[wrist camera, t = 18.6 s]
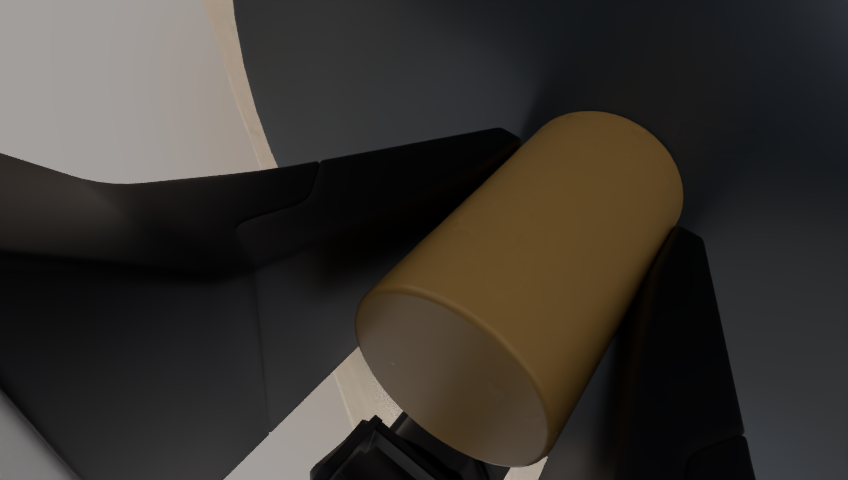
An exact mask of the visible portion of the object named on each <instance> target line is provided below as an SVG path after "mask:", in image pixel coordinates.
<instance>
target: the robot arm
mask: <svg viewBox="0 0 848 480" xmlns="http://www.w3.org/2000/svg"><path fill="white" fill-rule="evenodd" d="M520 147H521V139H520V138H519V137H518V136H516V135H514V134H513V133H511V132H509V131H507V130H505V129H503V128H501V127H498V128H492V129H486V130H481V131H476V132H470V133H465V134H459V135H454V136H449V137H443V138H438V139H433V140H427V141H422V142H417V143H411V144H406V145H400V146H395V147H390V148H384V149H379V150H374V151H368V152H363V153H358V154H352V155H347V156H341V157H336V158H331V159H325V160H322V161H321V162H320V164H319V162H318V161H314V162H308V163H303V164H298V165H292V166H286V167H280V168H273V169H267V170H261V171H253V172H244V173H236V174H228V175H218V176H208V177H198V178H188V179H178V180H168V181H159V182H148V183H135V184H111V183H102V182H96V181H91V180H85V179H81V178H78V177H74V176H71V175H68V174H65V173H61V172H58V171H55V170H52V169H49V168H45V167H43V166H39V165H36V164H33V163H30V162H27V161H24V160H20V159H17V158H14V157H11V156H8V155H5V154H1V153H0V480H223V479H224V478H225V477H226V476H227V475H229V474H230V473H231V471H232V470H234V469H235V468H236V467H237V465H239V464H240V463H241V462H242V461H243V460H244V459H245V458H246V457H247V456H248V455H249V454H250V452H252V451H253V450H254V449H255V448H256V447H257V446H258V445H259V444H260V443H261V442H262V441H263V440H264V439H265V438H266V437H267V436H268V435H269V432H272V431H273V430H274V429H275V428H276V427H277V426H278V425H279V424H280V423H281V422H282V421H283V420H284V419H285V418H286V417H287V416H288V415H289V414H290V413H291V412H292V411H293V410H294V409H295V408H296V407H297V406H298V405H299V404H300V403H301V402H302V401H303V400H304V399H305V398H306V397H307V396H308V395H309V394H310V393H311V392H312V391H313V390H314V389H315V388H316V387H317V386H318V385H319V384H320V383H321V382H322V381H323V380H324V379H325V378H326V377H327V376H328V375H330V373H331V372H333V371H334V370H335V369H336V368H337V367H338V366H339V365H340V364H341V363H342V362H343V361H344V360H345V359H346V358H347V357H348V356H349V355H350V354H351V353H352V352H353V351H354V350H355V349H356V348H357V347H358V346H359V344H358V341H357V337H356V332H355V315H356V311H357V308H358V305H359V303H360V301H361V299H362V298H363V296H364V295H365V294H366V293H367V292H368V291H369V290H370V289H372V288H373V287H374V286H375V285H376V284H377V283H378V282H379V281H380V280H381V279H382V278H383V277H384V276H385V275H386V274H387V273H388V272H389V271H391V270H392V269H393V268H394V267H395V266H396V265H397V264H398V263H399V262H400V261H401V260H402V259H403V258H404V257H405V256H406V255H407V254H408V253H410V252H411V251H412V250H413V249H414V248H415V247H416V246H417V245H418V244H419V243H420V242H421V241H422V240H423V239H424V238H425V237H426V236H428V235H429V234H430V233H431V232H432V231H433V230H434V229H435V228H436V227H437V226H438V225H439V224H440V223H441V222H442V221H443V220H444V219H445V218H447V217H448V216H449V215H450V214H451V213H452V212H453V211H454V210H455V209H456V208H457V207H458V206H459V205H460V204H461V203H462V202H463V201H464V200H466V199H467V198H468V197H469V196H470V195H471V194H472V193H473V192H474V191H475V190H476V189H477V188H478V187H479V186H480V185H481V184H482V183H483V182H485V181H486V180H487V179H488V178H489V177H490V176H491V175H492V174H493V173H494V172H495V171H496V170H497V169H498V168H499V167H500V166H501V165H502V164H504V163H505V162H506V161H507V160H508V159H509V158H510V157H511V156H512V155H513V154H514V153H515V152H516V151H517V150H518V149H519V148H520ZM744 433H745V430H744V425H743V420H742V416H741V411H740V407H739V402H738V397H737V393H736V388H735V383H734V379H733V374H732V369H731V365H730V360H729V355H728V351H727V346H726V342H725V337H724V332H723V328H722V323H721V318H720V314H719V309H718V304H717V300H716V295H715V290H714V286H713V281H712V277H711V272H710V267H709V263H708V258H707V253H706V249H705V244H704V241H703V239H702V238H701V237H700V236H698V235H696V234H694V233H692V232H691V231H689V230H687V229H685V228H683V227H681V226H675V227H674V228H673V229H672V230H671V232H670V234H669V236H668V238H667V239H666V241H665V243H664V245H663V247H662V248H661V250H660V252H659V254H658V256H657V258H656V259H655V261H654V263H653V265H652V267H651V268H650V270H649V272H648V274H647V276H646V277H645V279H644V281H643V283H642V285H641V287H640V289H639V291H638V293H637V295H636V297H635V299H634V301H633V303H632V305H631V307H630V309H629V311H628V313H627V315H626V316H625V318H624V320H623V322H622V324H621V326H620V327H619V329H618V331H617V333H616V335H615V336H614V338H613V340H612V342H611V344H610V346H609V347H608V349H607V351H606V353H605V355H604V356H603V358H602V360H601V362H600V364H599V366H598V367H597V369H596V371H595V373H594V375H593V376H592V378H591V380H590V382H589V384H588V386H587V387H586V389H585V391H584V393H583V395H582V396H581V398H580V400H579V402H578V404H577V406H576V407H575V409H574V411H573V413H572V415H571V416H570V418H569V420H568V422H567V424H566V426H565V427H564V429H563V431H562V433H561V435H560V437H559V438H558V440H557V442H556V444H555V446H554V447H553V449H552V450H551V452H550V454H549V456H548V458H547V461H546V463H545V465H544V468H543V470H542V472H541V475H540V477H539V479H538V480H756V478H755V474H754V470H753V466H752V461H751V456H750V452H749V447H748V442H747V439H746V437H744V436H742V435H744ZM510 468H511V467H504V466H498V465H494V464H489V463H486V462H483V461H480V460H477V459H475V458H472V457H470V456H468V455H465V454H464V453H462V452H460V451H458V450H456V449H454V448H452V447H450V446H449V445H447V444H445V443H444V442H442V441H441V440H439V439H438V438H436V437H435V436H433V435H432V434H430V433H429V432H428V431H426V430H425V429H424V428H422V427H421V426H420V425H419V424H418V423H416V422H415V421H414V420H413V419H412V418H411V417H410V416H408V415H407V414H406V413H405V412H404V411H403V412H402V413H401V414H400V416H399V417H398V418H397V419H396V421H395V422H394V423H393V424H392V426H391V427H390V428H389V427H388V426H386V425H385V424H384V423H383V422H382V419H380V418H379V417H378V416H377V415H375V416H374V417H373V418H372V419H371V420H370V421H366V420H362V421H361V422H360V423H359V424H358V425H357V427H356V428H355V429H354V430H353V431H352V432H351V434H350V435H349V436H348V437H347V438H346V439H345V440H344V441H343V442H342V443H341V444H340V445H338V446H337V447H336V448H335V449H334V450H332V451H331V452H330V453H329V454H328V455H327V456H325V457H324V458H323V459H322V460H320V461H319V462H318V463H317V464H316V465H315V466H314V467H313V468H312V470H311V471H310V480H503V479H504V478H505V476H506V474H507V473H508V471H509V469H510Z"/></svg>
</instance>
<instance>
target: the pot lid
mask: <svg viewBox="0 0 848 480" xmlns="http://www.w3.org/2000/svg"><path fill="white" fill-rule="evenodd" d="M233 5H234V15H235V21H236V26H237V32H238V37H239V42H240V47H241V52H242V58H243V63H244V67H245V71H246V75H247V78H248V82H249V86H250V89H251V93H252V96H253V100H254V104H255V107H256V111H257V114H258V116H259V119H260V122H261V125H262V127H263V130H264V133H265V136H266V138H267V141H268V144H269V147H270V149H271V152H272V154H273V157H274V159H275V161H276V163H277V166H278V168H280V167H286V166H292V165H298V164H303V163H308V162H314V161H318V162H319V164H320V162H321V161H322V160H325V159H331V158H336V157H341V156H347V155H352V154H358V153H363V152H368V151H374V150H379V149H384V148H390V147H395V146H400V145H406V144H411V143H417V142H422V141H427V140H433V139H438V138H443V137H449V136H454V135H459V134H465V133H470V132H476V131H481V130H486V129H492V128H498V127H501V128H503V129H505V130H507V131H509V132H511V133H513V134H514V135H516V136H518V137H519V138H520V139H521V147H520V148H519V149H518V150H517V151H516V152H515V153H514V154H513V155H512V156H511V157H510V158H509V159H508V160H507V161H506V162H505V163H504V164H502V165H501V166H500V167H499V168H498V169H497V170H496V171H495V172H494V173H493V174H492V175H491V176H490V177H489V178H488V179H487V180H486V181H485V182H483V183H482V184H481V185H480V186H479V187H478V188H477V189H476V190H475V191H474V192H473V193H472V194H471V195H470V196H469V197H468V198H467V199H466V200H464V201H463V202H462V203H461V204H460V205H459V206H458V207H457V208H456V209H455V210H454V211H453V212H452V213H451V214H450V215H449V216H448V217H447V218H445V219H444V220H443V221H442V222H441V223H440V224H439V225H438V226H437V227H436V228H435V229H434V230H433V231H432V232H431V233H430V234H429V235H428V236H426V237H425V238H424V239H423V240H422V241H421V242H420V243H419V244H418V245H417V246H416V247H415V248H414V249H413V250H412V251H411V252H410V253H408V254H407V255H406V256H405V257H404V258H403V259H402V260H401V261H400V262H399V263H398V264H397V265H396V266H395V267H394V268H393V269H392V270H391V271H389V272H388V273H387V274H386V275H385V276H384V277H383V278H382V279H381V280H380V281H379V282H378V283H377V284H376V285H375V286H374V287H373V288H372V289H370V290H369V291H368V292H367V293H366V294H365V295H364V296H363V298H362V299H361V301H360V303H359V305H358V308H357V311H356V315H355V332H356V337H357V341H358V344H359V347H360V350H361V352H362V354H363V357H364V359H365V361H366V363H367V365H368V366H369V368H370V370H371V372H372V373H373V375H374V376H375V378H376V379H377V381H378V382H379V383H380V385H381V386H382V387H383V389H384V390H385V391H386V392H387V394H388V395H389V396H390V397H391V398H392V399H393V400H394V402H395V403H396V404H397V405H398V406H399V407H400V408H401V409H402V410H403V411H404V412H405V413H406V414H407V415H408V416H410V417H411V418H412V419H413V420H414V421H415V422H416V423H418V424H419V425H420V426H421V427H422V428H424V429H425V430H426V431H428V432H429V433H430V434H432V435H433V436H435V437H436V438H438V439H439V440H441V441H442V442H444V443H445V444H447V445H449V446H450V447H452V448H454V449H456V450H458V451H460V452H462V453H464V454H465V455H468V456H470V457H472V458H475V459H477V460H480V461H483V462H486V463H489V464H494V465H498V466H504V467H524V466H529V465H532V464H534V463H537V462H538V461H540V460H541V459H543V458H544V457H546V456H547V457H548V456H549V454H550V452H551V450H552V449H553V447H554V446H555V444H556V442H557V440H558V438H559V437H560V435H561V433H562V431H563V429H564V427H565V426H566V424H567V422H568V420H569V418H570V416H571V415H572V413H573V411H574V409H575V407H576V406H577V404H578V402H579V400H580V398H581V396H582V395H583V393H584V391H585V389H586V387H587V386H588V384H589V382H590V380H591V378H592V376H593V375H594V373H595V371H596V369H597V367H598V366H599V364H600V362H601V360H602V358H603V356H604V355H605V353H606V351H607V349H608V347H609V346H610V344H611V342H612V340H613V338H614V336H615V335H616V333H617V331H618V329H619V327H620V326H621V324H622V322H623V320H624V318H625V316H626V315H627V313H628V311H629V309H630V307H631V305H632V303H633V301H634V299H635V297H636V295H637V293H638V291H639V289H640V287H641V285H642V283H643V281H644V279H645V277H646V276H647V274H648V272H649V270H650V268H651V267H652V265H653V263H654V261H655V259H656V258H657V256H658V254H659V252H660V250H661V248H662V247H663V245H664V243H665V241H666V239H667V238H668V236H669V234H670V232H671V230H672V229H673V228H674V227H675V226H681V227H683V228H685V229H687V230H689V231H691V232H692V233H694V234H696V235H698V236H700V237H701V238H702V239H703V241H704V244H705V249H706V253H707V258H708V263H709V267H710V272H711V277H712V281H713V286H714V290H715V295H716V300H717V304H718V309H719V314H720V318H721V323H722V328H723V332H724V337H725V342H726V346H727V351H728V355H729V360H730V365H731V369H732V374H733V379H734V383H735V388H736V393H737V397H738V402H739V407H740V411H741V416H742V420H743V425H744V430H745V433H744V435H742V436H744V437H746V439H747V442H748V447H749V452H750V456H751V461H752V466H753V470H754V474H755V478H756V480H848V0H233Z"/></svg>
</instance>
